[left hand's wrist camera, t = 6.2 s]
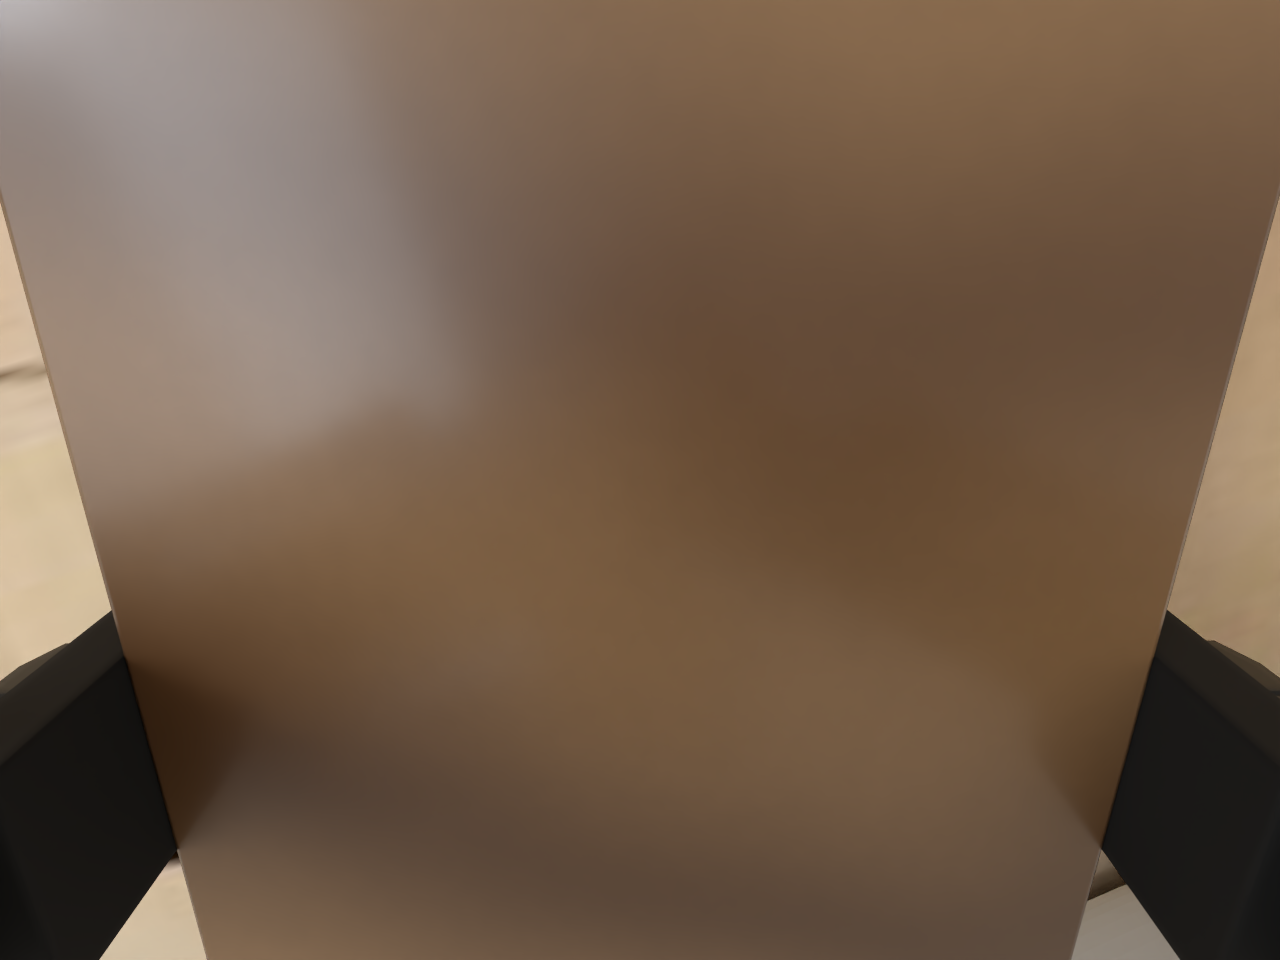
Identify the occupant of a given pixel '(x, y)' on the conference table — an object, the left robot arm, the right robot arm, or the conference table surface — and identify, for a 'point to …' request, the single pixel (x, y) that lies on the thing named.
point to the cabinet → (639, 446)
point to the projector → (1119, 930)
